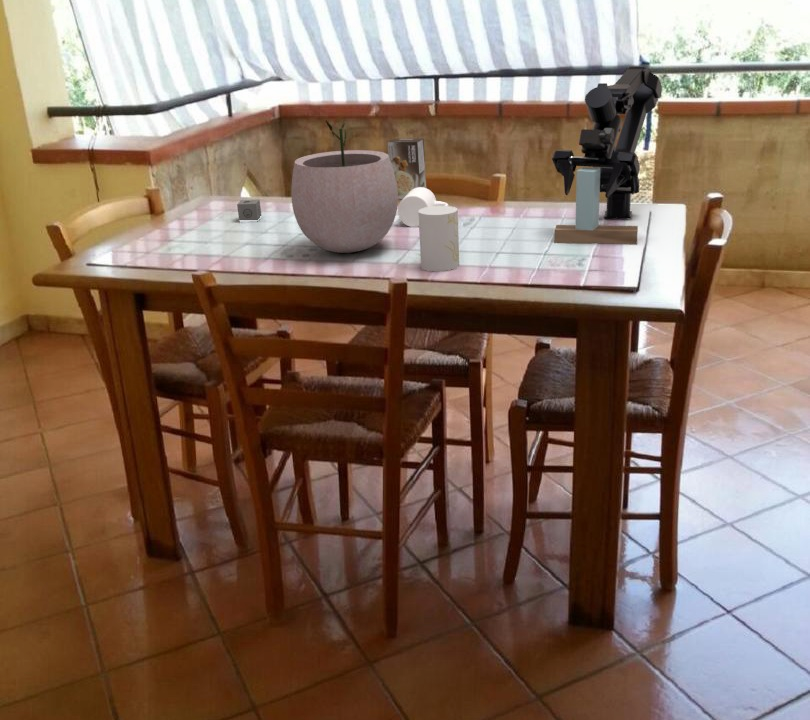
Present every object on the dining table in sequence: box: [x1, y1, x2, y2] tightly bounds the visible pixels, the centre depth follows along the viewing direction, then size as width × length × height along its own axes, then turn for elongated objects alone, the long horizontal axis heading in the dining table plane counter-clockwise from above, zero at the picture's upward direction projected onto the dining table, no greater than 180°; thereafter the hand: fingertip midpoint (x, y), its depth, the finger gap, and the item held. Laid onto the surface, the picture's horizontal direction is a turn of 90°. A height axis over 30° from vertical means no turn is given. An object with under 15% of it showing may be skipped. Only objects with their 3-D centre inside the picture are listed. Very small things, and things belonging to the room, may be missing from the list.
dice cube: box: [237, 199, 262, 221], centre depth 233 cm, size 5×5×5 cm
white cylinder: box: [418, 205, 460, 272], centre depth 184 cm, size 8×8×12 cm
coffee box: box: [387, 138, 427, 200], centre depth 247 cm, size 9×6×16 cm
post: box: [574, 167, 601, 231], centre depth 194 cm, size 4×4×13 cm
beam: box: [553, 224, 639, 245], centre depth 197 cm, size 4×18×3 cm, turn 75°
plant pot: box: [291, 117, 399, 254], centre depth 196 cm, size 24×24×30 cm
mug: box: [397, 187, 450, 228], centre depth 220 cm, size 12×10×8 cm
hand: (586, 195), depth 193 cm, fingers open, 9 cm apart
